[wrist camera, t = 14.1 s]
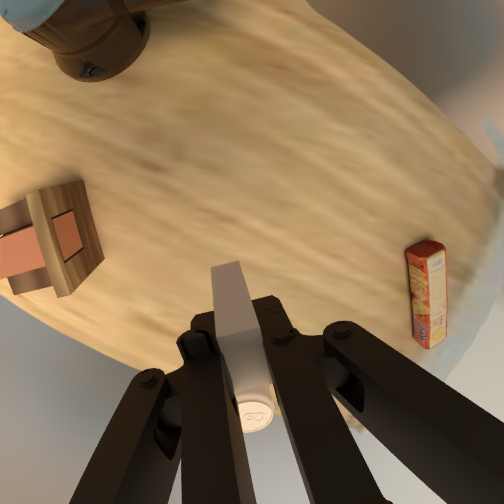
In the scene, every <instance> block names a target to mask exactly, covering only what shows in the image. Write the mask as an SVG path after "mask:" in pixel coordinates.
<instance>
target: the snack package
mask: <svg viewBox="0 0 504 504" xmlns="http://www.w3.org/2000/svg"><path fill="white" fill-rule="evenodd" d="M406 256H407V259H408V266H409V275H410V287H411V296H412V306H413V323H414V339H415V340H416V341H417V342H418V343H419V344H420V345H421V346H422V347H423V348H425V349H431V348H433V347H435V346H437V345H438V344H440V343H441V342H442V341H443V340H444V339H445V338H446V336H447V266H446V248H445V246H444V245H443V244H441V243H439V242H436V241H432V240H429V241H424V242H421V243H418V244H417V245H414V246H412V247H411V248H409V249H408V250H407V253H406Z"/></svg>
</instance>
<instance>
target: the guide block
mask: <svg viewBox="0 0 504 504" xmlns="http://www.w3.org/2000/svg"><path fill="white" fill-rule="evenodd" d="M71 211H73V214H74V217H75V221H76V225H77V228H78V232H79V235H80V239H81V242H82V245H83V247H82V248H81V249H79V250H78V251H77V252H76V253H74V254H73V255H72V256H70V257H69V258H68V259H67V260H65V261H64V260H63V257H62V254H61V251H60V248H59V244H58V241H57V238H56V234H55V231H54V227H53V224H52V220H51V218H53V217H56V216H59V215H62V214H65V213H68V212H71ZM30 225H33V226H34V230H35V233H36V237H37V240H38V243H39V246H40V250H41V253H42V256H43V259H44V262H45V265H46V266H44V267H41V268H37V269H34V270H30V271H27V272H23V273H20V274H16V275H13V276H9V277H7V278H8V281H9V283H10V286H11V289H12V291H13V294H14V295H17V294H21V293H25V292H29V291H33V290H38V289H42V288H46V287H50V286H53V287H54V290H55V292H56V295H57V297H58V298H59V297H64V296H68V295H71V294H72V293H73V292H74V291H75V290H76V289H77V287H78V286H79V285H80V284H81V283H82V282H83V281H84V280H85V279H86V278H87V277H88V276H89V275H90V274H91V273H92V271H93V270H94V269H95V268H96V267H97V266H98V265H99V264H100V263H101V262H102V261H103V260H104V255H103V252H102V249H101V246H100V242H99V239H98V235H97V232H96V228H95V225H94V221H93V217H92V214H91V210H90V206H89V202H88V198H87V194H86V189H85V185H84V181H78V182H73V183H68V184H63V185H58V186H54V187H49V188H45V189H40V190H37V191H35V192H32V193H30V194H27V195H26V199H24V200H21V201H19V202H16V203H14V204H12V205H10V206H7V207H5V208H3V209H1V210H0V235H2V234H3V236H4V235H6V234H9V233H12V232H14V231H17V230H20V229H22V228H25V227H28V226H30Z"/></svg>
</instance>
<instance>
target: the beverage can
mask: <svg viewBox="0 0 504 504" xmlns="http://www.w3.org/2000/svg"><path fill="white" fill-rule="evenodd" d="M234 394H235V397H236V399H237V402H238V408H239V414H240V419H241V425H242V431H243V432H254V431H258V430H260V429H262V428H264V427H265V426H267V425H268V424H269V423H270V422H271V420H272V417H273V413H274V404H273V400H272V397H271V393H270V390H269V386H268V385H265V386H261V387H257V388H253V389H249V390H245V391H240V392H236V393H235V390H234Z"/></svg>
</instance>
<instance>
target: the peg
mask: <svg viewBox="0 0 504 504" xmlns="http://www.w3.org/2000/svg"><path fill="white" fill-rule="evenodd" d="M51 220H52V224H53V227H54V231H55V234H56V238H57V241H58V244H59V248H60V251H61V254H62V257H63V260H64V261H65V260H67V259H68V258H69V257H70V256H72V255H73V254H74V253H76V252H77V251H78V250H79V249H81V248H82V247H83V245H82V242H81V239H80V235H79V232H78V228H77V225H76V221H75V217H74V214H73V211H71V212H68V213H65V214H62V215H59V216H56V217H53V218H51ZM44 266H46V265H45V262H44V259H43V256H42V253H41V250H40V246H39V243H38V240H37V237H36V233H35V230H34V226H33V225H30V226H28V227H25V228H22V229H20V230H17V231H14V232H12V233H9V234H6V235H4V236H2V237H0V279H3V278H6V277H9V276H13V275H16V274H20V273H23V272H27V271H30V270H34V269H37V268H41V267H44Z"/></svg>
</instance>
